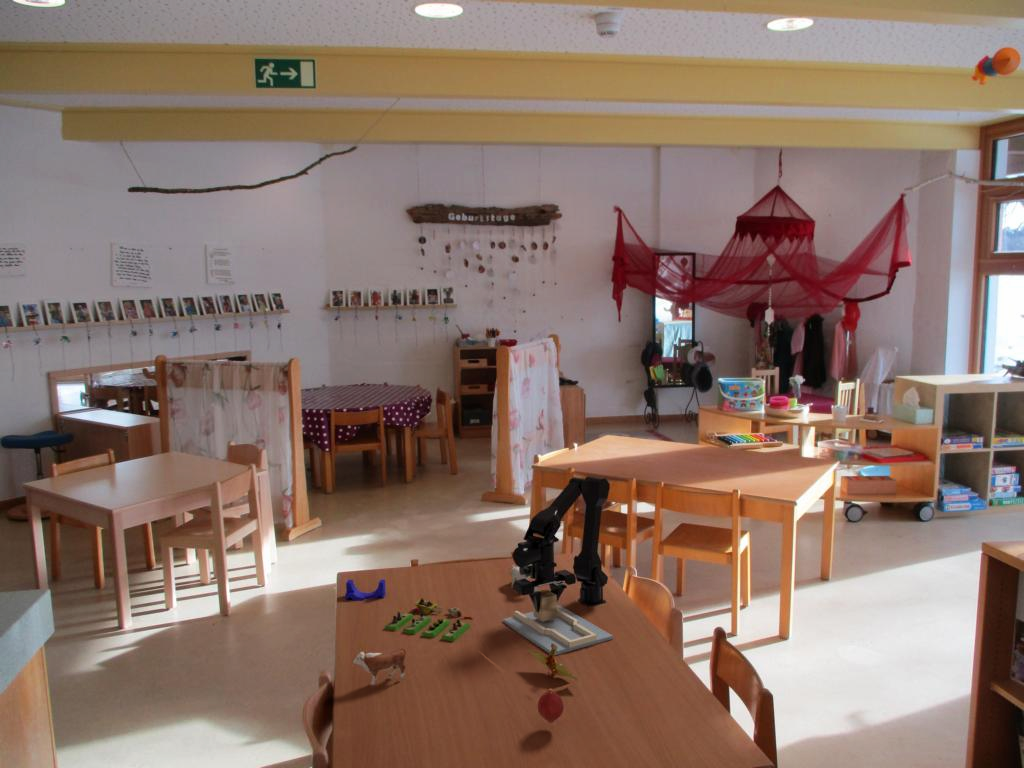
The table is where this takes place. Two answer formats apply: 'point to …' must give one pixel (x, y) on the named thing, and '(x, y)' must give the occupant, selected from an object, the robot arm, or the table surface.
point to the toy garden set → (423, 621)
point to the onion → (550, 706)
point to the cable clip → (358, 595)
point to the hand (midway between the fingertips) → (545, 610)
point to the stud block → (547, 606)
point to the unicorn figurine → (516, 574)
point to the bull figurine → (382, 662)
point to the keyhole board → (558, 630)
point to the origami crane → (552, 662)
